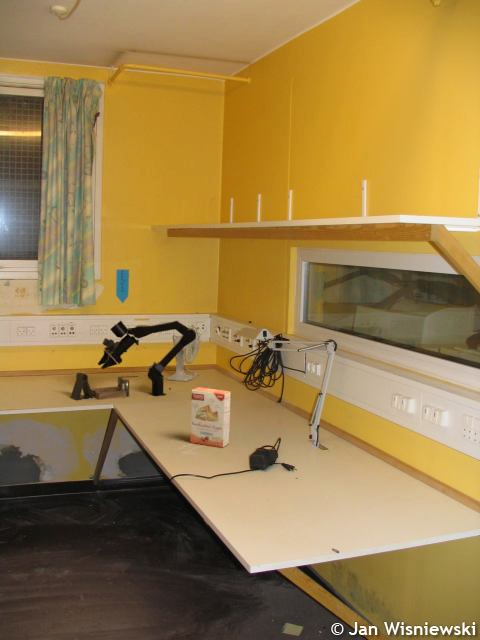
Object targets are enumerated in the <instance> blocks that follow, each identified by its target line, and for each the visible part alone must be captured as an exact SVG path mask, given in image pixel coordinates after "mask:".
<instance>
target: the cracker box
mask: <svg viewBox="0 0 480 640" xmlns="http://www.w3.org/2000/svg"><path fill="white" fill-rule="evenodd" d="M190 400H191V404H190V407H191V408H190V410H191V411H190V443H193V444H199V445H204V446H209V447H210V446H211V447H217V448H222V449H224V448H225V447H227V446H228V445H229V444H230V428H231V427H230V426H231V424H230V422H231V420H230V419H231V391H229V390H221V389H215V388H214V389H213V388H208V387H198V386H197V387H195V388H193V389H191V399H190Z"/></svg>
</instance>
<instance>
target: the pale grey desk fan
mask: <svg viewBox="0 0 480 640" xmlns="http://www.w3.org/2000/svg"><path fill="white" fill-rule="evenodd" d="M188 328H193V329H194V330H195V332H196V338H195V340H194V341H192V342H191V343H189V344H188V345H186V346H185V347H184V348H183V349H182V350H181V351H180V352H179V353H178V354H177V355H176V356H175V357H174V358H175V362H176V367H175V369H176V371H175V373H173V374H171V375H169V376H167V377H166V380H169V381H178V382H188V381H191V380H193V379H195V377H194V376H200V375H201V373H199V372H196V371H192V370H191V369H189V368H188V367H186V366H185V365H184V363H185V364H187V365H192V364H193V363H194V362H195V360H196V358H197V356H198V354H199V352H200V347H201V343H202V339H200V338H201V332H199V331H198V329H197V327H196V326H195V325H190V326H189V327H188ZM181 337H182V335H175V334H173V335H172V343H173V347H174V346H175V345H176V344H177V343H178V342H179V340H180V339H181ZM184 368H185V369H186V370H187V371H188V372H190V374H187V373H185V370H184Z"/></svg>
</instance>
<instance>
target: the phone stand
mask: <svg viewBox="0 0 480 640" xmlns="http://www.w3.org/2000/svg"><path fill="white" fill-rule="evenodd" d="M75 376H76V378H75V379H76V380H75V382H74V385H73V388H72V391H71V394H70V399H73V400H75V401H82V399H84V400H90V399H89V398H91V399H93V398H94V397H93V395H92V392H91V389H92V388H91V386H90V384H89V380H88V378H89V377H88V374H86V373H83V372H76V374H75ZM82 392H83V395H82Z"/></svg>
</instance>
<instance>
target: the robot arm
mask: <svg viewBox="0 0 480 640" xmlns="http://www.w3.org/2000/svg"><path fill="white" fill-rule="evenodd" d="M109 330H110V331H111V333H113V334H114V335H115V336H116V338H119V339H120V340H119V341H116V342H115V340H113V339H112V338H110V339H108V338H106V337H105V338H104V339H103V342H102V345H103V346H105V347H104V348H103V355H102V356H101V358H100V360H99V361H98V362H97V365H98V366H101V365H102V366H101V367H100V368H101V370H104V369H105V370H106V368H107V369H108V368H110V367H114V366H116V365H120V364H121V363H122V362H123V359H122V355H123V354H124V353H127V352H128V350H129V349H130V348H132V347H133V346H134V344H135V345H136V346H140V345H139V344H140V343H139V342H140V340H139V339H142V338H145V337H146V336H147V337H148V336H150V335H152V334H156V333H162V332H167V331H172V330H173V331H174V330H175V331H177V332H178V333H179V334H181V336H182V337H181V339H180V340H179V342H178V343H177V344H176V345H175V346H174V345H173V347H172V348H171V349H170V350H168V352H167V353H166V354H165V356H163V357H162V359H161V360H160V361H158V362H156V361H154V362H153V364H151V365H150V366H148V371H147V377H148V378H149V380H150V381H151V392H148V394H150V395H152V396H154V397H157V396H159V397H160V396H166V395H167V393H165V392H164V379H165V376H164V375H163V374H162V373H163V371H164V370H165V368H166V367H167V366H168V365H169V364H170V363H171V362H172V361H173V359H174V358H175V356H177V354H178V353H179V352H180V351H181V350H182V349H183V348H184V347H185V346H186V345H188V344H189V343H191V342H192V341H194V340H195V338H196V337H197V332H196V329H195V328H193V327H191V328H189V327H188V326H186V325H185V324H183V323H181V322H180V321H179V320H173V321H169V322H164V323H163V322H162V323H158V324H153V325H152V324H151V325H145V324H143V325H141V324H140V325H136V326H135V327H127V326H126V325H125V324H124V322H123V321H122V320H119V322H117V323H115V324H114V325H113V326H111V328H110V329H109Z"/></svg>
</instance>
